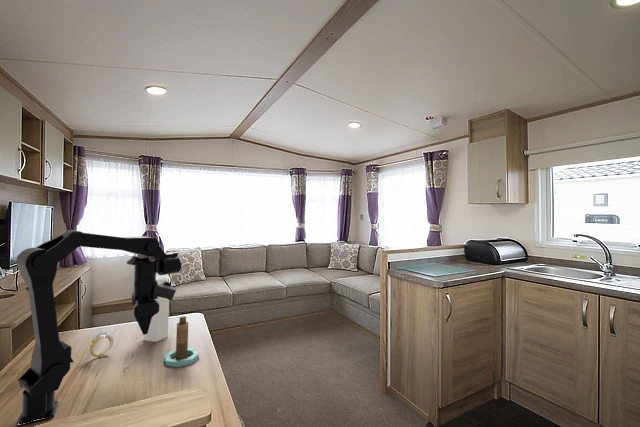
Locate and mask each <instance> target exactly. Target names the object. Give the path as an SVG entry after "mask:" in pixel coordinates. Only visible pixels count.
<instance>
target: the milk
mask: <svg viewBox="0 0 640 427" xmlns="http://www.w3.org/2000/svg"><path fill="white" fill-rule="evenodd" d="M156 282H157V283H158V284H163V283H164V282H165V281H158V280H156ZM155 300H156V301H157V302H158V303H159V312H158V313H157V314H155V315H154V316H153V317H152V319H151V322H150V326H149V330H148V333H147V334H144V335H143V341H147V342H151V343H152V342H153V343H157V342H160V341H162V340H163V339H166V338H168V337H169V317H170V316H169V315H170V300H168V299H167V298H162V297H157V299H155Z"/></svg>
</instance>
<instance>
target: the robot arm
mask: <svg viewBox="0 0 640 427" xmlns="http://www.w3.org/2000/svg"><path fill="white" fill-rule="evenodd" d="M79 247H81V248H83V247H84V248H95V249H105V250H115V251H116V250H117V251H124V252H127V253H131V254H134V256H132V257H131V258H130V259H129V260H128V261H126V264H127V265H130V266H134V277H133V292H132V293H131V304H132V306H133V315H134V318H135V320H136V322H137V324H138V326H139V328H140V331H141V333H142V335H143V336H144V334H147V333H148V330H149V326H150V322H151V319H152V317H153V316H154V315H155V314H157V313H158V312H159V303H158V302H157V301H156V300H155V299H157V297H162V298H167V299H168V300H169V301H172V300H174V296H175V294H176V292H177V289H176V288H175V287H174V286H171V283H170V282H169V281H166V280H164V281H163V282H164V283H163V284H158V283H157V282H156V281H157V277H156V276H157V274H158V275H159V276H165V275H172V274H178V273H180V271H181V269H182V267H183V266H182V262H181V259H180V257H179V255H178V252H174V251H173V252H168V253H166V252H165V250H163V249H162V248H161V244H160V241H159V240H158V239H157V237H151V236H150V237H149V236H142V235H139V236H125V237H121V236H120V237H119V236H112V235H104V234H99V233H98V234H96V233H89V232H82V231H80V230H73V229H71V230H67V231H64V233H62V234H60V235H59V236H56V237H55V238H54V237H53V238H52V239H50V240H48V241H45V242H43V243H41V244H40V245H37V246H36V247H29V248H26V249H24V250H22V251H21V252H20V253H19V254H18V255H17V256H16V260H15V261H16V262H15V263H16V265H17V268H18V272H19V273H20V275H21V276H20V277H21V278H22V279H23V281H24V283H25V285H26V286H27V290H28V296H29V304H30V305H29V306H30V311H31V319H32V328H33V334H34V342H35V343H34V344H35V345H34V348H33V351H32V354H31V361H30V367H29V368H28V369H27V370H26V371H25V372H24V373H23V374H22V375H21V376H19V377H18V379H17V382H18V384H19V387H20V388H22V389H23V391H22V402H21V414H20V416H19V417H18V419H17V421H16V424H18V423H19V424H23V423H28V422H31V421H34V420H37V419H42V418H48V419H50V418H49V417H52V418H53V416H54V417H55V414H56V411H57V408H58V407H59V406H58V405H59V401H58V400H56V391H58V390H59V388H60V386H61V384H62V381H63V379H64V377H66V375H67V374H68V373H69V372H70V370H71V363H74V361H75V360H73V359H72V346H71V345H69V344H68V343H66V342H64V341H63V340H60V334H59V327H58V317H57V311H56V301H55V295H54V282H55V279H56V275H57V271H58V263H60V262H61V261H62V260H65V259H66V258H67V257H68V256H70V255H71V253H73V252H74V251H75V250H76V249H78V248H79ZM135 255H138V256H135ZM139 256H144V257H139ZM150 258H154V259H150ZM55 400H56V401H55ZM28 424H29V423H28Z"/></svg>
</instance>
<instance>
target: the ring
mask: <svg viewBox="0 0 640 427" xmlns="http://www.w3.org/2000/svg"><path fill="white" fill-rule="evenodd" d="M103 338H106V339H108V340H109V346H108V348H107V349H106V350H105V351H104V352H100V353H99V354H95V353H94V352H93V349H94V347H95V345H96V344H97V343H98V342H99V341H100V340H101V339H103ZM113 346H114V339H113V336H112V335H111V334H107V331H105V332H103V333H102V331H101V332H99V333H98V334H96V335H95V336H93V338H92V339H91V340H90V342H89V345H88V352H89V354H90V356H92V357H94V358H103V357H104V356H106V355H107V354H108V353H109V352H111V350H112V348H113Z"/></svg>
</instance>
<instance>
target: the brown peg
mask: <svg viewBox="0 0 640 427" xmlns="http://www.w3.org/2000/svg"><path fill="white" fill-rule="evenodd" d="M175 341H176V342H175V344H176V346H175V347H176V348H175V350H176V356H175V360H181V359H186V358H188V355H187V351H188V348H189V345H188V344H189V321H187V316H185V315H184V316H180V317H179V321H178V322H177V323H176V339H175Z"/></svg>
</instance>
